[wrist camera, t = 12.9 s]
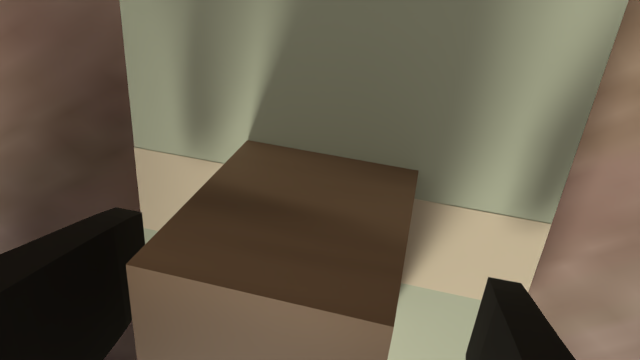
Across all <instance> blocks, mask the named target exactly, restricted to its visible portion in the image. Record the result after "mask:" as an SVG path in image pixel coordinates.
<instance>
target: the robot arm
mask: <svg viewBox="0 0 640 360" xmlns="http://www.w3.org/2000/svg"><path fill="white" fill-rule="evenodd" d="M144 245H145V238H144V228H143V218H142V212H137V211H131V210H126V209H121V208H113V209H110V210H107V211H104V212H101V213H99V214H96V215H94V216H91V217H89V218H86V219H84V220H81V221H79V222H77V223H74V224H72V225H70V226H67V227H65V228H62V229H60V230H58V231H55V232H53V233H51V234H48V235H46V236H44V237H41V238H39V239H36V240H34V241H32V242H29V243H27V244H25V245H22V246H20V247H18V248H15V249H13V250H10V251H8V252H5V253H2V254H0V360H103V359H104V358H105V357H106V355H107V354H108V353H109V351H110V350H111V349H112V347H113V346H114V345H115V343H116V342H117V341H118V339H119V338H120V337H121V335H122V334H123V333H124V331H125V330H126V329H127V327H128V325H129V324H130V322H131V320H132V314H131V305H130V297H129V288H128V280H127V272H126V264H127V263H128V262H129V261H130V259H131V258H132V257H133V256H134V255H135V254H136V253H137V252H138V251H139V250H140V249H141V248H142V247H143V246H144ZM466 360H576V359H575V358H574V357H573V355H572V354H571V353H570V351H569V350H568V349H567V347H566V346H565V345H564V343H563V342H562V340H561V339H560V338H559V336H558V335H557V333H556V332H555V331H554V329H553V328H552V326H551V325H550V324H549V322H548V321H547V319H546V318H545V316H544V315H543V314H542V312H541V311H540V309H539V308H538V306H537V305H536V303H535V302H534V301H533V299H532V298H531V296H530V295H529V293H528V292H527V291H526V289H525V288H524V286H523V285H522V284H521V283H518V282H513V281H507V280H502V279H497V278H491V277H488V280H487V283H486V286H485V290H484V293H483V297H482V300H481V303H480V307H479V310H478V314H477V317H476V320H475V324H474V327H473V331H472V334H471V338H470V341H469V344H468V348H467V351H466Z"/></svg>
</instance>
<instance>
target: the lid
mask: <svg viewBox="0 0 640 360" xmlns="http://www.w3.org/2000/svg"><path fill="white" fill-rule="evenodd" d="M119 1H120V11H121V21H122V31H123V40H124V50H125V60H126V70H127V80H128V90H129V100H130V109H131V119H132V129H133V139H134V153H135V163H136V173H137V183H138V193H139V202H140V212H142V218H143V228H144V238H145V244H146V243H147V242H148V241H149V240H150V239H151V238H152V237H153V236H154V235H155V234H156V233H157V232H158V231H159V230H160V229H161V228H162V227H163V226H164V225H165V224H166V223H167V222H168V221H169V220H170V219H171V218H172V217H173V216H174V215H175V214H176V213H177V212H178V210H179V209H180V208H181V207H182V206H183V205H184V204H185V203H186V202H187V201H188V200H189V199H190V198H191V197H192V196H193V195H194V194H195V193H196V192H197V191H198V190H199V189H200V188H201V187H202V186H203V185H204V184H205V183H206V182H207V181H208V180H209V179H210V178H211V177H212V176H213V175H214V174H215V173H216V172H217V171H218V170H219V169H220V168H221V167H222V166H223V165H224V164H225V162H226V161H227V160H228V159H229V158H230V157H231V156H232V155H233V154H234V153H235V152H236V151H237V150H238V149H239V148H240V147H241V146H242V145H243V144H244V143H245V142H246V141H247V140H250V141H255V142H261V143H266V144H272V145H278V146H283V147H289V148H294V149H300V150H306V151H311V152H317V153H322V154H328V155H334V156H339V157H345V158H350V159H356V160H362V161H367V162H373V163H378V164H384V165H390V166H395V167H401V168H406V169H412V170H418V171H419V172H418V178H417V185H416V191H415V197H414V204H413V210H412V216H411V223H410V229H409V235H408V241H407V248H406V254H405V260H404V267H403V273H402V279H401V286H400V292H399V298H398V304H397V311H396V317H395V323H394V329H393V334H392V339H391V344H390V349H389V354H388V359H387V360H466V351H467V348H468V344H469V341H470V338H471V334H472V331H473V327H474V324H475V320H476V317H477V314H478V310H479V307H480V303H481V300H482V297H483V293H484V290H485V286H486V283H487V280H488V277H491V278H497V279H502V280H507V281H513V282H518V283H521V284H522V285H523V286H524V288H525V289H526V291H527V292H528V291H529V288H530V285H531V282H532V279H533V277H534V274H535V271H536V268H537V265H538V262H539V259H540V256H541V253H542V251H543V248H544V245H545V242H546V239H547V236H548V233H549V230H550V227H551V225H552V221H553V218H554V215H555V212H556V209H557V206H558V203H559V200H560V198H561V195H562V192H563V189H564V186H565V183H566V180H567V177H568V174H569V171H570V169H571V166H572V163H573V160H574V157H575V154H576V151H577V148H578V145H579V143H580V140H581V137H582V134H583V131H584V128H585V125H586V122H587V119H588V116H589V114H590V111H591V108H592V105H593V102H594V99H595V96H596V93H597V90H598V87H599V85H600V82H601V79H602V76H603V73H604V70H605V67H606V64H607V61H608V59H609V56H610V53H611V50H612V47H613V44H614V41H615V38H616V35H617V32H618V30H619V27H620V24H621V21H622V18H623V15H624V12H625V9H626V6H627V3H628V1H629V0H119Z"/></svg>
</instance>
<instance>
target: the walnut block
mask: <svg viewBox="0 0 640 360" xmlns="http://www.w3.org/2000/svg"><path fill="white" fill-rule="evenodd" d="M418 172H419V171H418V170H412V169H406V168H401V167H395V166H390V165H384V164H378V163H373V162H367V161H362V160H356V159H350V158H345V157H339V156H334V155H328V154H322V153H317V152H311V151H306V150H300V149H294V148H289V147H283V146H278V145H272V144H266V143H261V142H255V141H250V140H247V141H246V142H245V143H244V144H243V145H242V146H241V147H240V148H239V149H238V150H237V151H236V152H235V153H234V154H233V155H232V156H231V157H230V158H229V159H228V160H227V161H226V162H225V164H224V165H223V166H222V167H221V168H220V169H219V170H218V171H217V172H216V173H215V174H214V175H213V176H212V177H211V178H210V179H209V180H208V181H207V182H206V183H205V184H204V185H203V186H202V187H201V188H200V189H199V190H198V191H197V192H196V193H195V194H194V195H193V196H192V197H191V198H190V199H189V200H188V201H187V202H186V203H185V204H184V205H183V206H182V207H181V208H180V209H179V210H178V212H177V213H176V214H175V215H174V216H173V217H172V218H171V219H170V220H169V221H168V222H167V223H166V224H165V225H164V226H163V227H162V228H161V229H160V230H159V231H158V232H157V233H156V234H155V235H154V236H153V237H152V238H151V239H150V240H149V241H148V242H147V243H146V244H145V245H144V246H143V247H142V248H141V249H140V250H139V251H138V252H137V253H136V254H135V255H134V256H133V257H132V258H131V259H130V261H129V262H128V263H127V264H126V272H127V280H128V288H129V297H130V305H131V314H132V322H133V330H134V339H135V347H136V355H137V360H387V359H388V354H389V349H390V344H391V339H392V334H393V329H394V323H395V317H396V311H397V304H398V298H399V292H400V286H401V279H402V273H403V267H404V260H405V254H406V248H407V241H408V235H409V229H410V223H411V216H412V210H413V204H414V197H415V191H416V185H417V178H418Z"/></svg>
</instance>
